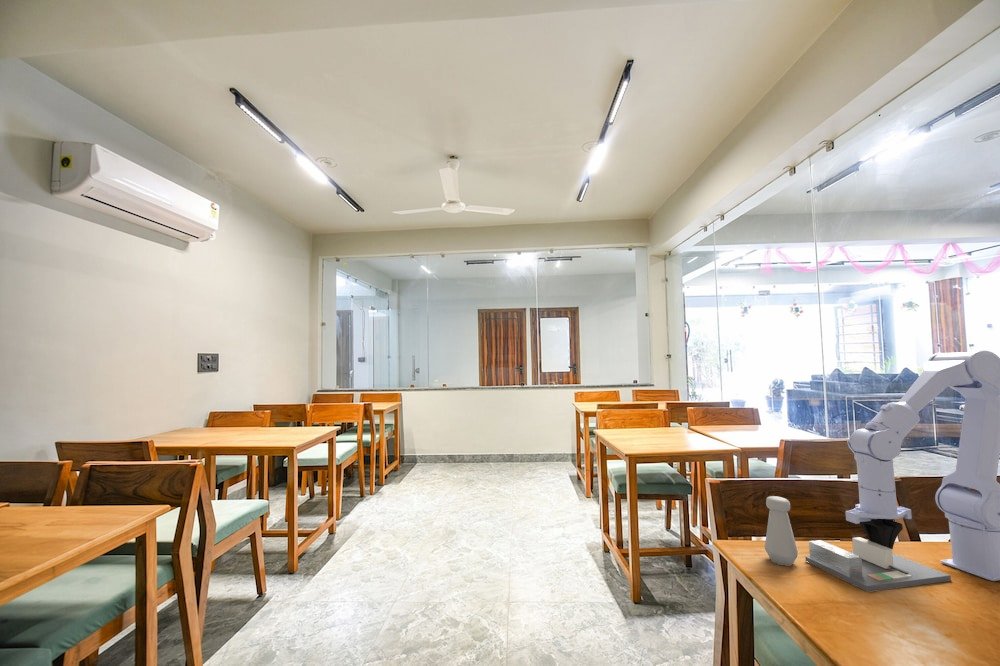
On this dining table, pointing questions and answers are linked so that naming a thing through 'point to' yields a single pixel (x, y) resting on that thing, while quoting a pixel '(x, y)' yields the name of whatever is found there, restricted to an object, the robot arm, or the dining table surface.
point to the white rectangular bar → (874, 553)
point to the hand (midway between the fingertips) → (882, 556)
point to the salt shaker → (780, 532)
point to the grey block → (836, 558)
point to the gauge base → (890, 574)
